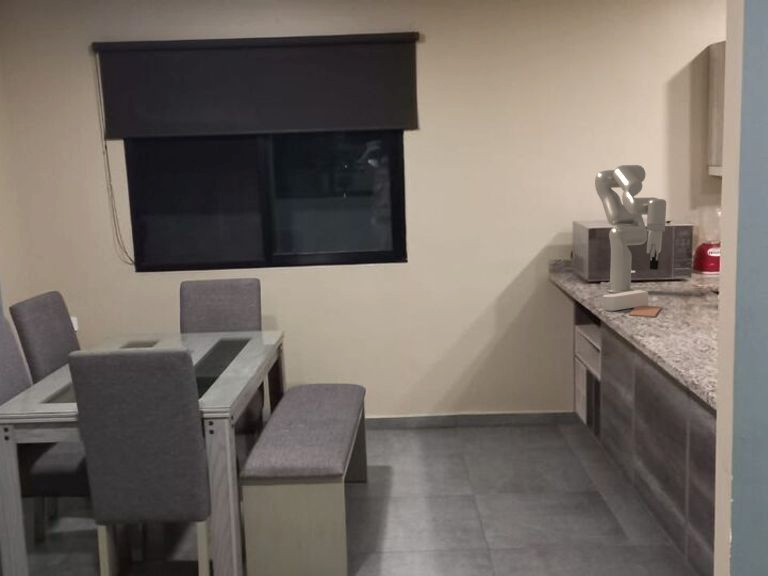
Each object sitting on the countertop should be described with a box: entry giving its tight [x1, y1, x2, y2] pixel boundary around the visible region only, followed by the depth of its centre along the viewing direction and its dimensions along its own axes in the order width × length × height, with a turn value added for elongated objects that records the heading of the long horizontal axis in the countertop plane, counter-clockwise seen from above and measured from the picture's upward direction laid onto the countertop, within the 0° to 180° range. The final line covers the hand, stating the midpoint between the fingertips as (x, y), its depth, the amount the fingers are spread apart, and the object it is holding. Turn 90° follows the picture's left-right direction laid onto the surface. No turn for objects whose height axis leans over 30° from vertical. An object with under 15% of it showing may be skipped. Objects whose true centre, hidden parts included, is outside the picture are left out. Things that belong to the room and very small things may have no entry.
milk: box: [601, 289, 649, 312], centre depth 322 cm, size 6×6×22 cm
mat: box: [628, 305, 662, 318], centre depth 314 cm, size 10×20×1 cm, turn 153°
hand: (653, 269), depth 332 cm, fingers closed
